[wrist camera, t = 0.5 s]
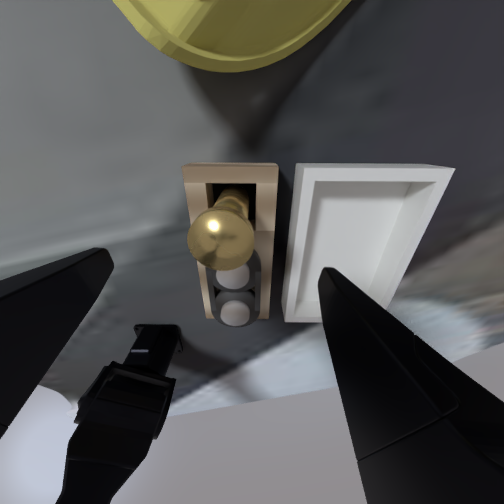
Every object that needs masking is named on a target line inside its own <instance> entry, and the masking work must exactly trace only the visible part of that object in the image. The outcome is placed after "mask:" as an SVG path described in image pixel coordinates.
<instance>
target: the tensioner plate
mask: <svg viewBox="0 0 504 504" xmlns="http://www.w3.org/2000/svg"><path fill="white" fill-rule="evenodd" d="M278 170H279V167H278V166H277V164H276V163H189V164H187V165H184V166H182V173H183V179H184V185H185V191H186V197H187V203H188V209H189V215H190V221H191V225H192V224H193V222H194V221H195V219H196V218H197V217H198V215H200V214H201V213H202V212H203V211H205V210H207V209H209V208H212V207H213V206H214V196H213V186H212V183H256V220H249V222H250V223H251V225H252V228H253V231H254V250H253V253H252V255H251V257H250V259H249V260H248V261H247V262H246V263H245V264H244V265H242V266H241V267H239V268H237V269H234V270H229V271H218V270H213V269H210V268H208V267H206V266H204V265H202V264H201V263H200V262H198V261H197V264H198V270H199V276H200V283H201V289H202V295H203V301H204V307H205V313H206V318H215V319H216V320H217V321H218V322H220V323H221V324H224V325H226V326H230V327H244V326H247V325H250V324H252V323H253V322H254V321H256V320H257V319H269V304H270V289H271V275H272V260H273V245H274V230H275V215H276V200H277V185H278Z"/></svg>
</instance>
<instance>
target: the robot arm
mask: <svg viewBox="0 0 504 504" xmlns="http://www.w3.org/2000/svg"><path fill="white" fill-rule="evenodd" d="M113 269H114V263H113V260H112V258H111V256H110V254H109V252H108V250H107V249H105V248H92V249H89V250H86V251H83V252H80V253H77V254H74V255H72V256H69V257H66V258H63V259H60V260H57V261H55V262H52V263H49V264H46V265H43V266H40V267H37V268H35V269H32V270H29V271H26V272H23V273H20V274H17V275H15V276H12V277H9V278H6V279H3V280H0V439H1V437H2V436H3V435H4V433H5V432H6V430H7V429H8V426H9V425H10V424H11V423H12V421H13V420H14V418H15V417H16V415H17V414H18V412H19V411H20V410H21V408H22V407H23V405H24V404H25V402H26V401H27V399H28V398H29V397H30V395H31V394H32V392H33V391H34V389H35V388H36V387H37V385H38V384H39V382H40V381H41V379H42V378H43V376H44V375H45V374H46V372H47V371H48V369H49V368H50V366H51V365H52V363H53V362H54V361H55V359H56V358H57V356H58V355H59V353H60V352H61V350H62V349H63V348H64V346H65V345H66V343H67V342H68V340H69V339H70V337H71V336H72V335H73V333H74V332H75V330H76V329H77V327H78V326H79V324H80V323H81V322H82V320H83V319H84V317H85V316H86V314H87V313H88V311H89V310H90V309H91V307H92V306H93V304H94V303H95V301H96V300H97V298H98V296H99V294H100V293H101V291H102V289H103V287H104V285H105V284H106V282H107V280H108V278H109V276H110V275H111V273H112V271H113ZM318 294H319V302H320V310H321V317H322V322H323V327H324V331H325V335H326V339H327V343H328V347H329V351H330V355H331V359H332V363H333V367H334V371H335V375H336V379H337V383H338V387H339V391H340V395H341V399H342V403H343V407H344V411H345V415H346V419H347V423H348V427H349V431H350V435H351V439H352V443H353V447H354V451H355V455H356V459H357V460H358V462H357V463H358V468H359V472H360V476H361V480H362V484H363V488H364V492H365V496H366V500H367V504H504V402H503V401H501V400H500V399H498V398H497V397H496V396H495V395H493V394H492V393H490V392H489V391H488V390H487V389H485V388H484V387H482V386H481V385H480V384H478V383H477V382H476V381H474V380H473V379H472V378H470V377H469V376H468V375H466V374H465V373H464V372H462V371H461V370H460V369H458V368H457V367H456V366H454V365H453V364H452V363H451V362H449V361H448V360H447V359H445V358H444V357H443V356H442V355H440V354H439V353H438V352H437V351H435V350H434V349H433V348H432V347H430V346H429V345H428V344H427V343H425V342H424V341H423V340H422V339H421V338H419V337H418V336H417V335H414V333H413V332H412V331H411V330H410V329H408V328H407V327H406V326H405V325H403V324H402V323H401V322H400V321H399V320H397V319H396V318H395V317H394V316H393V315H391V314H390V313H389V312H388V311H386V310H385V309H384V308H383V307H382V306H380V305H379V304H378V303H377V302H376V301H374V300H373V299H372V298H371V297H369V296H368V295H367V294H366V293H365V292H363V291H362V290H361V289H360V288H359V287H357V286H356V285H355V284H354V283H352V282H351V281H350V280H349V279H348V278H346V277H345V276H344V275H343V274H341V273H340V272H339V271H338V270H337V269H335V268H333V267H324V268H323V269H322V271H321V274H320V277H319V280H318ZM134 331H135V333H136V335H137V339H136V341H135V342H134V344H133V346H132V347H131V349H130V352H129V354H128V356H127V357H126V359H125V361H124V363H123V364H119V363H117V362H115V361H112V362H111V364H110V365H109V366H104V368H103V369H102V371H101V372H100V374H99V375H98V377H97V378H96V379H95V381H94V382H93V383H92V384H91V386H90V387H89V388H88V389H87V391H86V392H85V393H84V394H83V395H82V397H81V398H80V400H79V401H78V408H79V410H78V412H77V416H76V418H75V420H74V423H76V424H79V425H78V426H77V428H76V430H75V432H74V433H73V435H72V437H71V438H70V440H69V443H68V448H67V455H66V463H65V471H64V479H63V487H62V492H61V494H60V496H59V498H58V500H57V502H56V503H55V504H110V502H111V500H112V498H113V496H114V495H115V494H116V493H117V491H118V490H119V489H120V488H121V486H122V485H123V484H124V483H125V482H126V480H127V479H128V478H129V477H130V476H131V474H132V473H133V472H134V471H135V470H136V468H137V467H138V466H139V465H140V463H141V462H142V461H143V460H144V459H145V457H146V456H147V453H148V451H149V448H150V445H151V443H152V440H153V439H157V438H158V436H159V434H160V432H161V430H162V427H163V425H164V422H165V419H166V417H167V414H168V410H169V407H170V403H171V399H172V394H173V390H174V386H175V382H176V379H175V378H168V377H165V375H166V372H167V370H168V367H169V364H170V362H171V359H172V356H173V354H174V353H182V351H183V347H182V343H181V340H180V336H179V333H178V329H177V326H175V325H135V326H134Z"/></svg>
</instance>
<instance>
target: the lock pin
mask: <svg viewBox="0 0 504 504" xmlns="http://www.w3.org/2000/svg"><path fill="white" fill-rule="evenodd" d="M248 209H249V195H248V193H247V191H246V190H245V189H244V188H243V187H241V186H239V185H229V186H227V187H226V188H224V190H223V191H222V193H221V194H220V196H219V198H218V199H217V201H216V203H215V204H214V206H213V207H212V208H209V209H207V210H205V211H203V212H202V213H201V214H200V215H198V217H197V218H196V219H195V221H194V222H193V224H192V225H191V227H190V229H189V231H188V237H187V241H188V246H189V249H190V251H191V253H192V255H193V256H194V258H195V259H196V260H197V261H198V262H200V263H201V264H202V265H204V266H206V267H208V268H210V269H213V270H218V271H229V270H234V269H237V268H239V267H241V266H242V265H244V264H245V263H246V262H247V261H248V260H249V259H250V257H251V255H252V253H253V250H254V231H253V228H252V225H251V223H250V222H249V220H248Z"/></svg>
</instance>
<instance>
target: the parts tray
mask: <svg viewBox="0 0 504 504" xmlns="http://www.w3.org/2000/svg"><path fill="white" fill-rule="evenodd" d="M454 170H455V168H448V167H441V166H434V165H427V164H370V163H296V169H295V179H294V188H293V197H292V207H291V216H290V225H289V235H288V244H287V253H286V262H285V272H284V281H283V290H282V300H281V304H282V309H283V315H284V321H285V322H322V317H321V310H320V302H319V294H318V280H319V277H320V274H321V271H322V269H323V268H324V267H333V268H335V269H337V270H338V271H339V272H340V273H341V274H343V275H344V276H345V277H346V278H348V279H349V280H350V281H351V282H352V283H354V284H355V285H356V286H357V287H359V288H360V289H361V290H362V291H363V292H365V293H366V294H367V295H368V296H369V297H371V298H372V299H373V300H374V301H376V302H377V303H378V304H379V305H380V306H382V307H383V308H384V309H385V310H387V307H388V305H389V303H390V301H391V299H392V297H393V295H394V293H395V291H396V289H397V287H398V285H399V283H400V281H401V279H402V277H403V275H404V273H405V271H406V269H407V267H408V264H409V262H410V260H411V258H412V256H413V254H414V252H415V250H416V248H417V246H418V244H419V242H420V240H421V238H422V236H423V234H424V232H425V230H426V228H427V226H428V224H429V221H430V219H431V217H432V215H433V213H434V211H435V209H436V207H437V205H438V203H439V201H440V199H441V197H442V195H443V193H444V191H445V189H446V187H447V185H448V183H449V181H450V179H451V176H452V174H453V172H454Z"/></svg>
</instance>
